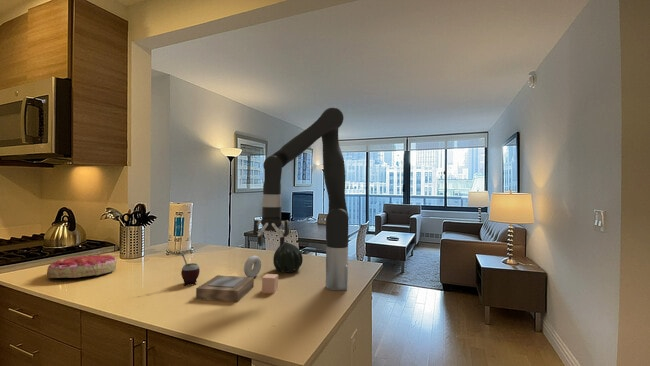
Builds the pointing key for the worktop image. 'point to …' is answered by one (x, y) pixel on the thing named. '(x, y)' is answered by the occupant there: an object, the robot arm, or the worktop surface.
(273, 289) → the terracotta block
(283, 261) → the squash
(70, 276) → the cake
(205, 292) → the walnut base
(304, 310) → the worktop surface
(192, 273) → the mate gourd
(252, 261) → the donut
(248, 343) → the worktop surface
